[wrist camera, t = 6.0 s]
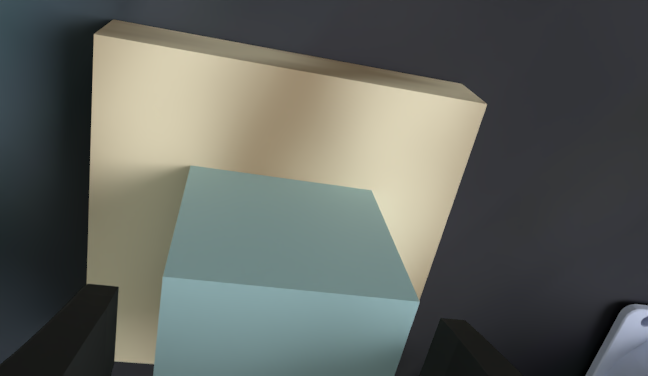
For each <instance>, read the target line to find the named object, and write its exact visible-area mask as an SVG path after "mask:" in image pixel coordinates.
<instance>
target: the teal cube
mask: <svg viewBox="0 0 648 376" xmlns="http://www.w3.org/2000/svg"><path fill="white" fill-rule="evenodd" d="M419 303H420V301H419V299H418V297H417V294H416V292H415V290H414V287H413V285H412V283H411V280H410V278H409V276H408V273H407V271H406V269H405V267H404V264H403V262H402V260H401V257H400V255H399V253H398V250H397V248H396V246H395V243H394V241H393V239H392V237H391V234H390V232H389V230H388V227H387V225H386V223H385V220H384V218H383V216H382V213H381V211H380V209H379V206H378V204H377V202H376V200H375V197H374V195H373V193H372V190H366V189H358V188H351V187H344V186H337V185H329V184H322V183H315V182H308V181H300V180H293V179H286V178H279V177H271V176H264V175H257V174H249V173H242V172H235V171H228V170H220V169H213V168H206V167H199V166H190V170H189V174H188V178H187V182H186V186H185V190H184V194H183V198H182V202H181V206H180V210H179V214H178V218H177V222H176V226H175V230H174V234H173V238H172V242H171V246H170V250H169V254H168V258H167V262H166V266H165V270H164V274H163V280H162V290H161V300H160V310H159V321H158V331H157V341H156V351H155V361H154V372H153V376H394V375H395V372H396V369H397V366H398V364H399V361H400V358H401V355H402V352H403V349H404V346H405V343H406V340H407V338H408V335H409V332H410V329H411V326H412V323H413V320H414V317H415V314H416V311H417V309H418V306H419Z"/></svg>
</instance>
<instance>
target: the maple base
mask: <svg viewBox="0 0 648 376" xmlns="http://www.w3.org/2000/svg"><path fill="white" fill-rule="evenodd" d="M486 106H487V104H486V103H485V102H484V101H482V100H481V99H480V98H479V97H477V96H476V95H475V94H474V93H472V92H471V91H470V90H469V89H468V88H466V87H465V86H464V85H463V84H460V83H455V82H449V81H444V80H438V79H433V78H427V77H422V76H417V75H411V74H406V73H400V72H395V71H390V70H384V69H379V68H373V67H368V66H362V65H357V64H352V63H346V62H341V61H335V60H330V59H325V58H319V57H314V56H308V55H303V54H297V53H292V52H287V51H281V50H276V49H270V48H265V47H260V46H254V45H249V44H243V43H238V42H232V41H227V40H222V39H216V38H211V37H205V36H200V35H194V34H189V33H184V32H178V31H173V30H167V29H162V28H157V27H151V26H146V25H140V24H135V23H129V22H124V21H119V20H112V21H111V22H109V23H108V24H107V25H105V26H104V27H103V28H101V29H100V30H99V31H97V32H96V33H95V34H94V45H93V80H92V115H91V149H90V184H89V219H88V254H87V284H97V285H107V286H117V287H119V292H118V308H117V325H116V342H115V359H114V361H117V362H132V363H146V364H154V361H155V351H156V341H157V331H158V321H159V310H160V300H161V290H162V280H163V274H164V270H165V266H166V262H167V258H168V254H169V250H170V246H171V242H172V238H173V234H174V230H175V226H176V222H177V218H178V214H179V210H180V206H181V202H182V198H183V194H184V190H185V186H186V182H187V178H188V174H189V170H190V166H199V167H206V168H213V169H220V170H228V171H235V172H242V173H249V174H257V175H264V176H271V177H279V178H286V179H293V180H300V181H308V182H315V183H322V184H329V185H337V186H344V187H351V188H358V189H366V190H372V193H373V195H374V197H375V200H376V202H377V204H378V206H379V209H380V211H381V213H382V216H383V218H384V220H385V223H386V225H387V227H388V230H389V232H390V234H391V237H392V239H393V241H394V243H395V246H396V248H397V250H398V253H399V255H400V257H401V260H402V262H403V264H404V267H405V269H406V271H407V273H408V276H409V278H410V280H411V283H412V285H413V287H414V290H415V292H416V294H417V297H418V299H419V300H420V297H421V294H422V291H423V288H424V285H425V282H426V279H427V277H428V274H429V271H430V268H431V265H432V262H433V259H434V256H435V253H436V251H437V248H438V245H439V242H440V239H441V236H442V233H443V230H444V227H445V224H446V222H447V219H448V216H449V213H450V210H451V207H452V204H453V201H454V198H455V196H456V193H457V190H458V187H459V184H460V181H461V178H462V175H463V172H464V170H465V167H466V164H467V161H468V158H469V155H470V152H471V149H472V146H473V144H474V141H475V138H476V135H477V132H478V129H479V126H480V123H481V120H482V117H483V115H484V112H485V109H486Z"/></svg>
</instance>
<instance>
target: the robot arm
mask: <svg viewBox="0 0 648 376" xmlns="http://www.w3.org/2000/svg"><path fill="white" fill-rule="evenodd" d="M118 292H119V287H117V286H107V285H97V284H87V285H85V286H84V287H82V288H81V289H80V291H79V292H78V293H77V294H76V295H75V296H74V297H73V298H72V299H71V300H70V301H69V302H68V303H67V304H66V305H65V306H64V307H63V308H62V309H61V310H60V311H59V312H58V313H57V314H56V315H55V316H54V317H53V318H52V319H51V320H50V321H49V322H48V323H47V324H46V325H45V326H43V327H42V328H41V329H40V330H39V331H38V332H37V333H36V334H35V335H34V336H32V337H31V338H30V339H29V340H28V341H27V342H26V343H25V344H24V345H23V346H22V347H20V348H19V349H18V350H17V351H16V352H15V353H14V354H12V355H11V356H10V357H9V358H8V359H6V360H5V361H4V362H3V363H1V364H0V376H111V372H112V368H113V365H114V359H115V342H116V325H117V308H118ZM420 376H523V375H522V374H521V373H520V372H519V371H518V370H517V369H516V368H515V367H514V366H513V365H512V364H511V363H510V362H509V361H508V360H507V359H506V358H505V357H503V356H502V355H501V354H500V353H499V352H498V351H497V350H496V349H495V348H494V347H493V346H492V345H491V344H490V343H489V342H488V341H487V340H486V339H485V338H484V337H483V336H482V335H481V334H480V333H479V332H477V331H476V330H475V329H474V328H473V327H472V326H471V325H470V324H468V323H467V322H466V321H464V320H454V319H444V318H441V319H440V322H439V324H438V327H437V330H436V332H435V335H434V338H433V340H432V343H431V346H430V349H429V351H428V354H427V357H426V359H425V362H424V365H423V367H422V370H421V373H420ZM585 376H648V305H640V304H631V305H628V306H626V307H624V308H623V309H622V310H621V311H620V313H619V314H618V316H617V318H616V320H615V322H614V324H613V326H612V327H611V329H610V331H609V333H608V335H607V337H606V338H605V340H604V342H603V344H602V346H601V348H600V349H599V351H598V353H597V355H596V357H595V359H594V361H593V362H592V364H591V366H590V368H589V370H588V372H587V373H586V375H585Z"/></svg>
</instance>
